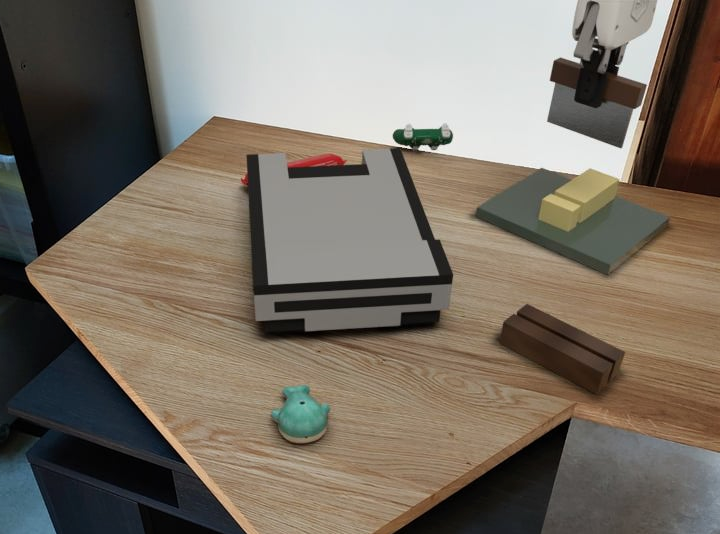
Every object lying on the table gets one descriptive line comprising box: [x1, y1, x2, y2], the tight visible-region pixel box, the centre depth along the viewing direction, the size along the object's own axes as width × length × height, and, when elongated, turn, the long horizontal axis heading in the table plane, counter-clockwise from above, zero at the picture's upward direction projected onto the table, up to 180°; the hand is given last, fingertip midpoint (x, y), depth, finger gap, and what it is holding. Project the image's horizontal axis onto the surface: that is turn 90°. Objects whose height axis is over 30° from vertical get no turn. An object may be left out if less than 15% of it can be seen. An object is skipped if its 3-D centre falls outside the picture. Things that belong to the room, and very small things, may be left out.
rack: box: [498, 303, 626, 395], centre depth 83 cm, size 12×5×3 cm, turn 46°
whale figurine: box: [270, 384, 331, 444], centre depth 75 cm, size 6×7×4 cm
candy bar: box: [240, 153, 348, 186], centre depth 112 cm, size 16×4×3 cm, turn 118°
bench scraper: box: [546, 57, 648, 149], centre depth 90 cm, size 11×2×7 cm, turn 47°
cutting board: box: [475, 167, 671, 276], centre depth 104 cm, size 20×16×2 cm
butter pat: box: [538, 194, 581, 232], centre depth 101 cm, size 4×2×3 cm, turn 46°
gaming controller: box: [392, 122, 454, 152], centre depth 120 cm, size 9×4×6 cm
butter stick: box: [554, 168, 620, 223], centre depth 104 cm, size 4×9×3 cm, turn 136°
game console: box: [245, 147, 454, 335], centre depth 95 cm, size 21×32×8 cm, turn 6°
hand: (592, 100), depth 90 cm, fingers closed on bench scraper, 1 cm apart
